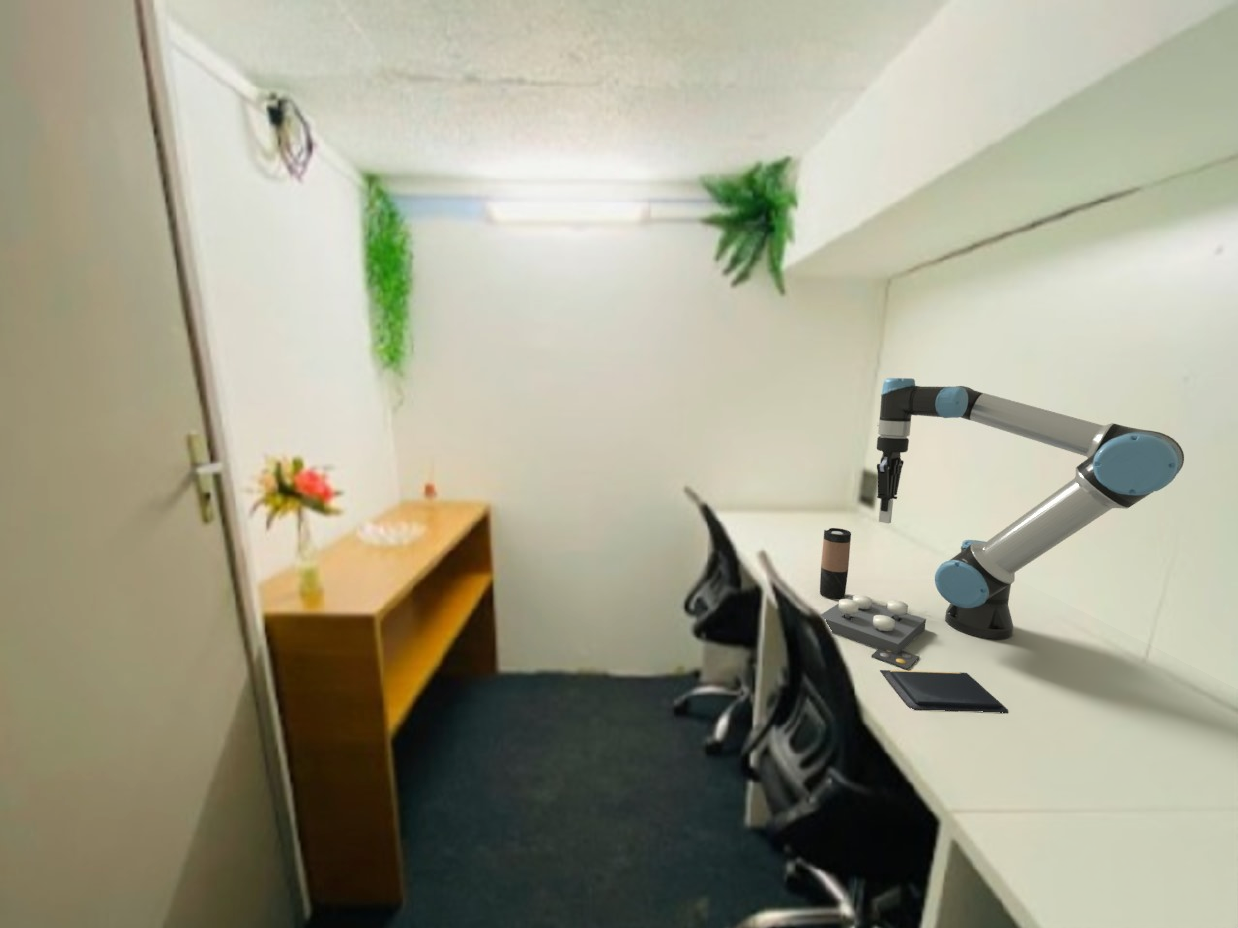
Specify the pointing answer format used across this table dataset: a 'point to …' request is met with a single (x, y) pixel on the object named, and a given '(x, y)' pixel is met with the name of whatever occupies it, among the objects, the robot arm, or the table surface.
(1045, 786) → the table surface
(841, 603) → the button
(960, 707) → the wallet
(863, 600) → the button
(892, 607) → the button
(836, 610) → the button board
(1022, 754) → the table surface
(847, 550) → the travel mug
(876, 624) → the button
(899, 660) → the card
